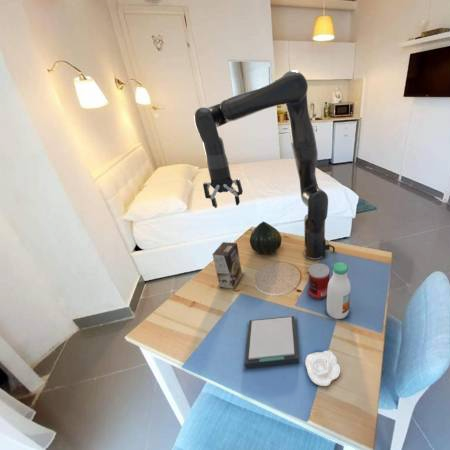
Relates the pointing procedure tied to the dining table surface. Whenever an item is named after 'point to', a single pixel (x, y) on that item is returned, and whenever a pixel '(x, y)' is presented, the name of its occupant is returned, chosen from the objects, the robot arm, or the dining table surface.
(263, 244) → the squash
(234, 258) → the coffee box
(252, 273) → the dining table surface
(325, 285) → the canned food
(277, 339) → the scale
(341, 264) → the milk bottle
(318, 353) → the rose
